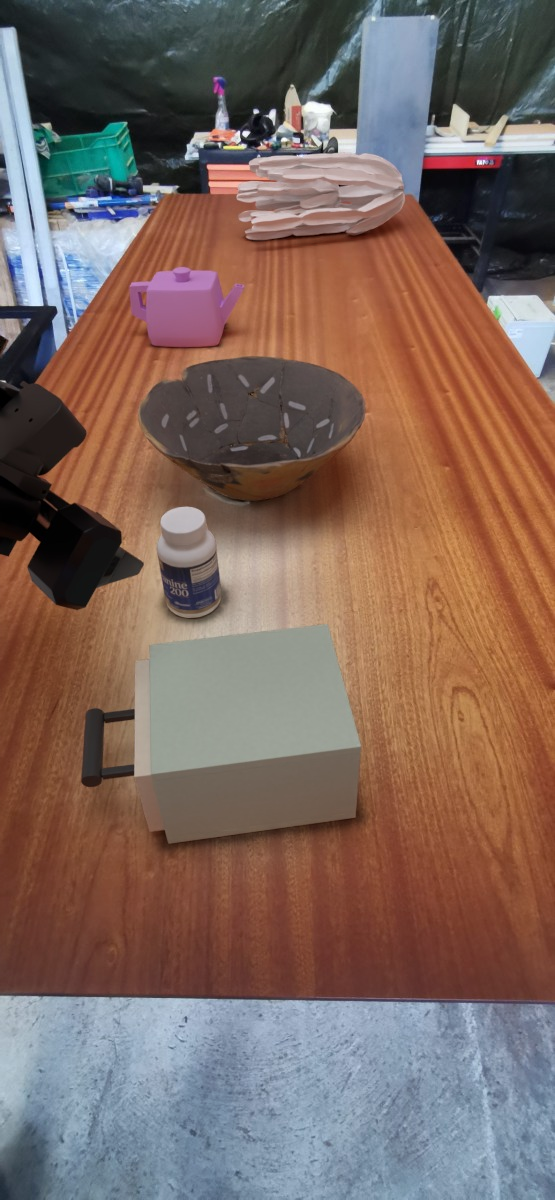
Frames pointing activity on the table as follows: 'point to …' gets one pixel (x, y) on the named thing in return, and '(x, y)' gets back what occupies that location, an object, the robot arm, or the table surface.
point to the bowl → (252, 422)
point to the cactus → (320, 194)
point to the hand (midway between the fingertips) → (108, 542)
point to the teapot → (183, 307)
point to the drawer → (142, 747)
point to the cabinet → (251, 733)
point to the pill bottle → (188, 563)
